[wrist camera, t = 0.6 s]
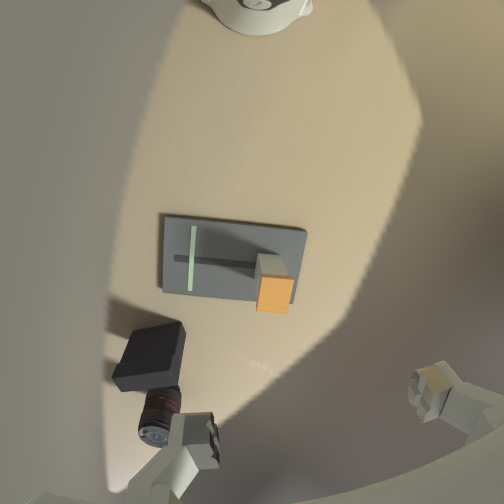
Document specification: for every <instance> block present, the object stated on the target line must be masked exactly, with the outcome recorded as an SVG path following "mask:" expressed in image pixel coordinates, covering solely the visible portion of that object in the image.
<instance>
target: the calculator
mask: <svg viewBox="0 0 504 504" xmlns="http://www.w3.org/2000/svg"><path fill="white" fill-rule="evenodd" d="M185 338H186V332H185V330H184V327H183V325H182V323H181V322H177V323H172V324H167V325H162V326H157V327H152V328H147V329H142V330H137V331H133V332H132V334H131V336H130V339H129V341H128V344H127V346H126V349H125V351H124V354H123V356H122V359H121V361H120V363H119V364H117V365H116V367H115V370H114V372H113V375H112V379H113V380H114V382H115V383H116V385H117V386H118V388H119V389H120V391H121V392H128V391H137V390H146V389H154V388H161V387H169V386H175V385H177V384H178V380H179V373H180V367H181V361H182V355H183V349H184V343H185Z"/></svg>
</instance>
